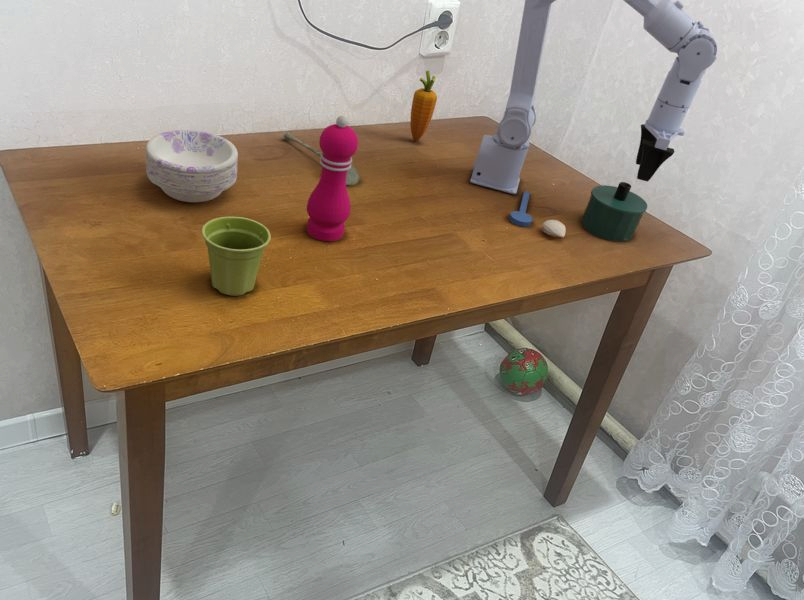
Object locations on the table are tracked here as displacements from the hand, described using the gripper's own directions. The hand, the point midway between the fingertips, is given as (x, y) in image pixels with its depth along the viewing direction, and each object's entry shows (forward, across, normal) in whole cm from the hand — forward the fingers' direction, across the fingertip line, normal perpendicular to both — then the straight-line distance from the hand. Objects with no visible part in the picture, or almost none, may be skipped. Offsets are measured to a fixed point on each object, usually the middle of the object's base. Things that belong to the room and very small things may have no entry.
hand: (641, 172), depth 136 cm
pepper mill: (+10, -38, +50) cm, 64 cm away
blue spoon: (+10, -8, +19) cm, 23 cm away
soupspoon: (+10, -12, +60) cm, 62 cm away
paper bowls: (+10, -37, +75) cm, 85 cm away
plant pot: (+10, -60, +57) cm, 84 cm away
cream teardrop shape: (+10, -16, +13) cm, 23 cm away
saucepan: (+10, -7, +3) cm, 12 cm away
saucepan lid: (+4, -7, +3) cm, 8 cm away
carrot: (+10, +11, +45) cm, 48 cm away
